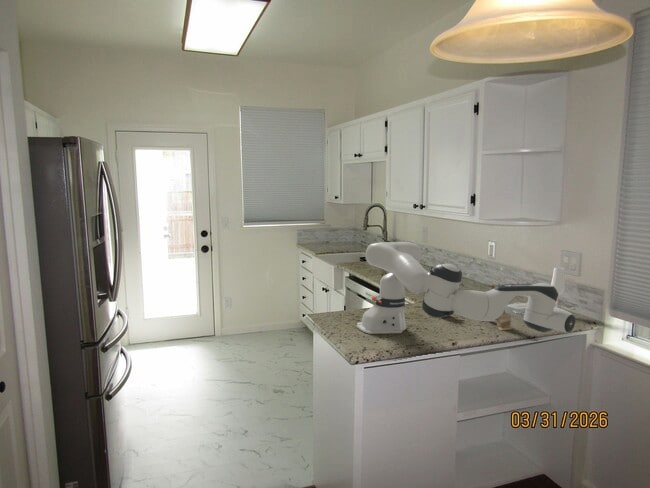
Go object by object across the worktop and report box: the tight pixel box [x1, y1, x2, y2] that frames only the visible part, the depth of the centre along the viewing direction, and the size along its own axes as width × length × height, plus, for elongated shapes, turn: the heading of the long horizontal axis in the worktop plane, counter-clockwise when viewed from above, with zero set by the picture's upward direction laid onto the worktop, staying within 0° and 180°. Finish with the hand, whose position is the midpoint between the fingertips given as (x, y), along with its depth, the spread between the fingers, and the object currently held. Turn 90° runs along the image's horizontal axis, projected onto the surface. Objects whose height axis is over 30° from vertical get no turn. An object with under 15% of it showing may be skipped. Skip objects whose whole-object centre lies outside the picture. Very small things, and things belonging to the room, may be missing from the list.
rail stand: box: [492, 312, 514, 331], centre depth 213 cm, size 25×7×7 cm, turn 18°
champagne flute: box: [550, 266, 566, 307], centre depth 229 cm, size 7×7×24 cm
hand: (515, 304), depth 197 cm, fingers closed
